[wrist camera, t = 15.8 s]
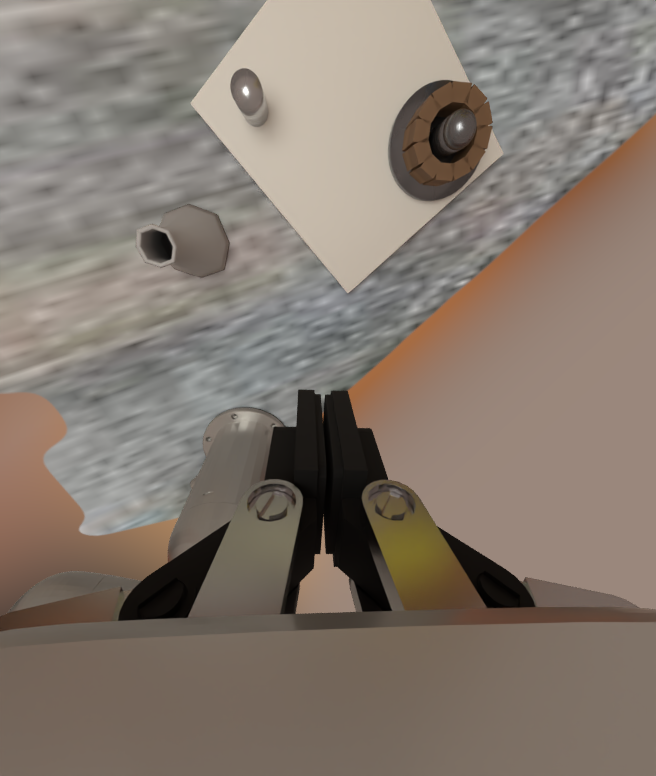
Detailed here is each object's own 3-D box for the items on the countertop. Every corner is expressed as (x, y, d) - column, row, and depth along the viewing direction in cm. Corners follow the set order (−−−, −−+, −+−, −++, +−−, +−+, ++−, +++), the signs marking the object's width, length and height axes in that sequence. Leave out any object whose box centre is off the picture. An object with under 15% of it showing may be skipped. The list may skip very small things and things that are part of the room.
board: (346, 291, 37) (348, 293, 36) (195, 109, 29) (190, 103, 27) (495, 156, 32) (503, 153, 30) (363, -114, 23) (366, -134, 22)
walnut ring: (461, 188, 31) (479, 183, 27) (397, 182, 30) (408, 177, 27) (480, 102, 28) (501, 86, 25) (409, 95, 27) (422, 77, 24)
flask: (225, 204, 32) (193, 194, 23) (233, 277, 35) (209, 293, 27) (153, 203, 32) (94, 192, 23) (169, 277, 35) (122, 292, 26)
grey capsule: (255, 133, 28) (247, 117, 24) (235, 108, 28) (223, 86, 24) (274, 111, 28) (268, 91, 24) (254, 84, 27) (244, 59, 23)
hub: (420, 221, 33) (446, 219, 27) (369, 140, 29) (385, 117, 23) (496, 153, 30) (543, 133, 24) (449, 56, 27) (491, 5, 21)
